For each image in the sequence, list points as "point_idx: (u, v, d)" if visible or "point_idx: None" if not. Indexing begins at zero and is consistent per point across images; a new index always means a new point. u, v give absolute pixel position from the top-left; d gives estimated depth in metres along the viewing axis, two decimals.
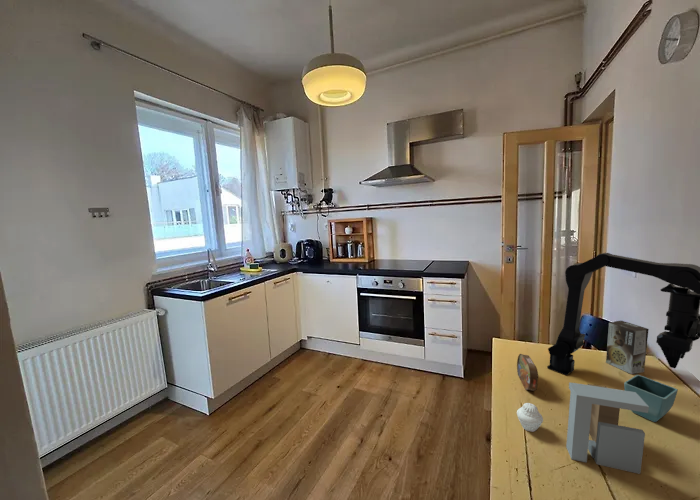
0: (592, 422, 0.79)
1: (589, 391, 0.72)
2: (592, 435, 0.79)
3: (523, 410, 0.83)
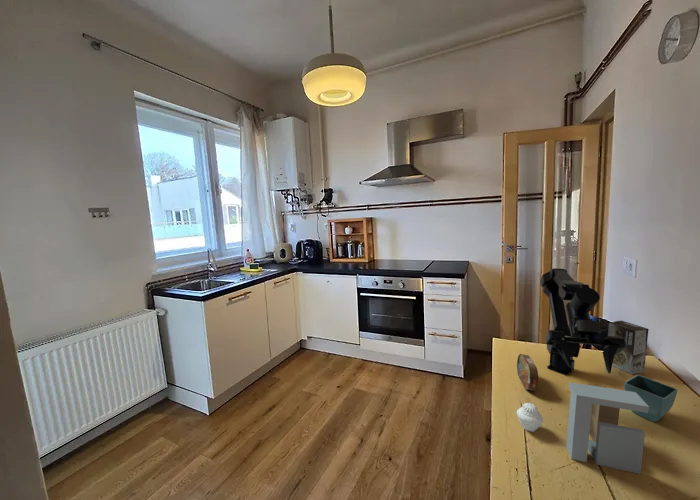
0: (592, 422, 0.79)
1: (589, 391, 0.72)
2: (592, 435, 0.79)
3: (523, 410, 0.83)
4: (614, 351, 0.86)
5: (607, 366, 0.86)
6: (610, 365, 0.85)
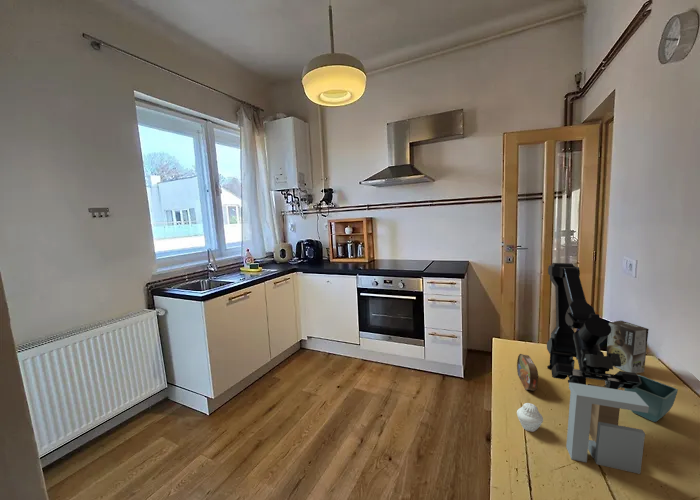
0: (592, 422, 0.79)
1: (589, 391, 0.72)
2: (592, 435, 0.79)
3: (523, 410, 0.83)
4: (616, 387, 0.80)
5: None
6: None
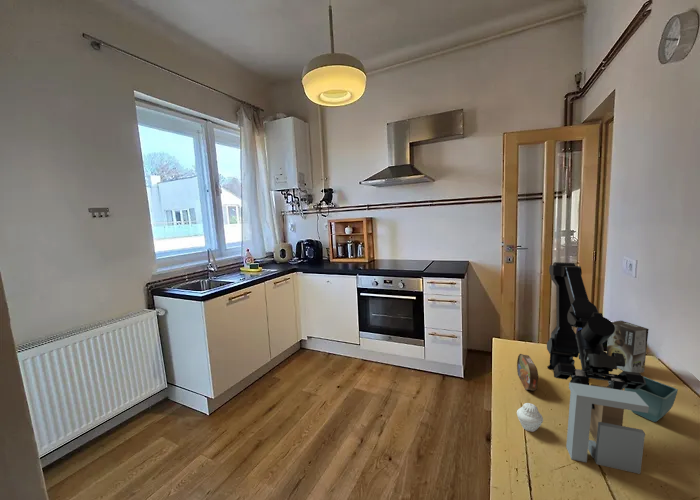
0: (595, 423, 0.77)
1: (589, 391, 0.72)
2: (595, 437, 0.77)
3: (523, 410, 0.83)
4: (619, 388, 0.78)
5: None
6: None
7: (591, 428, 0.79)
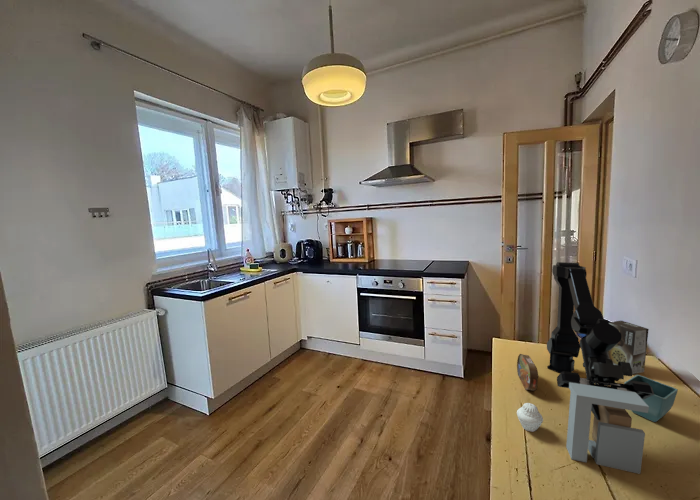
0: None
1: (589, 391, 0.72)
2: None
3: (523, 410, 0.83)
4: None
5: None
6: None
7: (596, 440, 0.76)
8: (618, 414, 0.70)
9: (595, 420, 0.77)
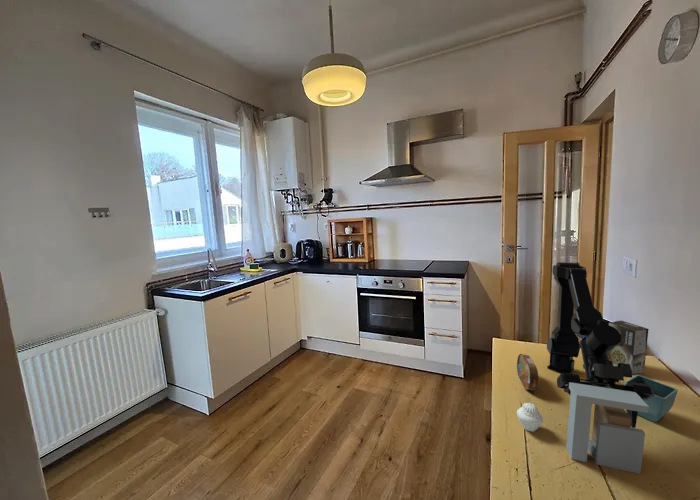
0: None
1: (589, 391, 0.72)
2: None
3: (523, 410, 0.83)
4: None
5: None
6: (634, 419, 0.73)
7: None
8: (618, 415, 0.70)
9: (595, 421, 0.77)
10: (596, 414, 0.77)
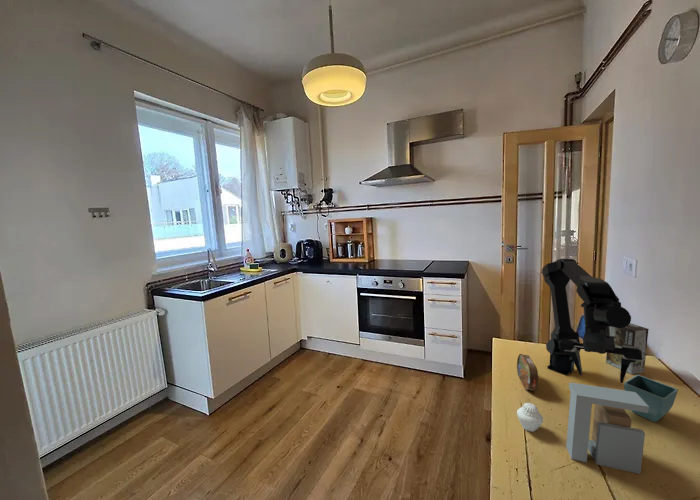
0: None
1: (589, 391, 0.72)
2: None
3: (523, 410, 0.83)
4: (627, 364, 0.83)
5: (620, 376, 0.86)
6: (622, 377, 0.85)
7: None
8: (618, 415, 0.70)
9: (595, 421, 0.77)
10: (596, 414, 0.77)
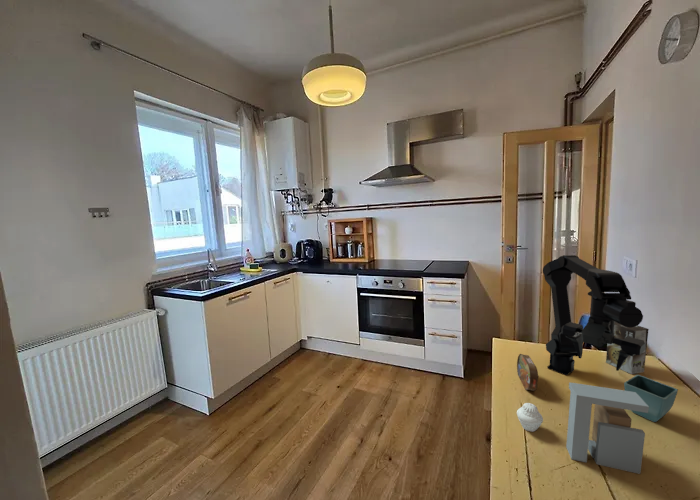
0: None
1: (589, 391, 0.72)
2: None
3: (523, 410, 0.83)
4: (625, 356, 0.85)
5: (617, 364, 0.89)
6: (618, 366, 0.88)
7: None
8: (618, 415, 0.70)
9: (595, 421, 0.77)
10: (596, 414, 0.77)
